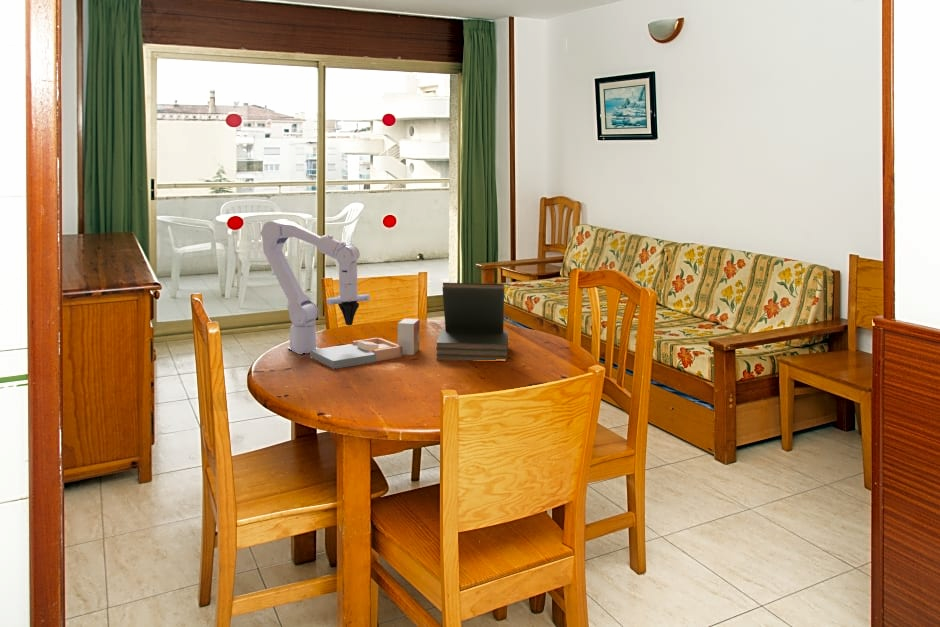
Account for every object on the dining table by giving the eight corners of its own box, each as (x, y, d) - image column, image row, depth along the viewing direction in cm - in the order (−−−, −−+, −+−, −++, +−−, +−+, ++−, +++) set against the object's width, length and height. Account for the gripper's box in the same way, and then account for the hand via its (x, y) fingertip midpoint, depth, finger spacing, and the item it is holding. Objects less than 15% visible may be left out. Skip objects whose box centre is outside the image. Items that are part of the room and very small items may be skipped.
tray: (352, 351, 263) (352, 341, 262) (378, 347, 269) (378, 337, 268) (375, 361, 251) (375, 350, 250) (402, 356, 257) (402, 346, 256)
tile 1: (357, 347, 258) (357, 341, 258) (370, 347, 261) (371, 341, 261) (364, 350, 254) (365, 344, 254) (377, 351, 257) (378, 345, 257)
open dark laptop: (508, 348, 272) (509, 276, 267) (507, 363, 253) (509, 285, 248) (441, 346, 273) (441, 274, 268) (435, 361, 254) (436, 284, 249)
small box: (413, 355, 259) (413, 323, 257) (397, 354, 260) (397, 323, 258) (419, 349, 267) (420, 318, 265) (403, 348, 268) (403, 318, 266)
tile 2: (371, 351, 261) (371, 345, 261) (384, 349, 264) (384, 343, 263) (378, 354, 257) (378, 348, 257) (392, 352, 260) (392, 346, 260)
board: (310, 357, 254) (310, 350, 254) (351, 351, 263) (351, 343, 263) (333, 368, 242) (333, 361, 241) (376, 361, 251) (376, 354, 250)
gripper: (333, 287, 247) (334, 329, 250) (374, 283, 256) (374, 324, 258) (323, 283, 253) (324, 325, 255) (363, 280, 261) (364, 320, 264)
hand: (348, 324), depth 257 cm, fingers closed
